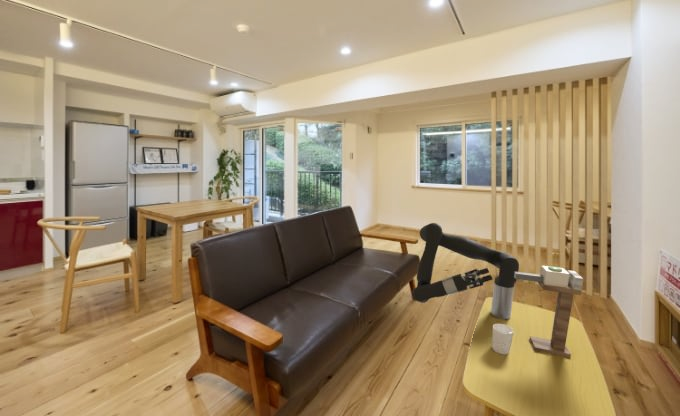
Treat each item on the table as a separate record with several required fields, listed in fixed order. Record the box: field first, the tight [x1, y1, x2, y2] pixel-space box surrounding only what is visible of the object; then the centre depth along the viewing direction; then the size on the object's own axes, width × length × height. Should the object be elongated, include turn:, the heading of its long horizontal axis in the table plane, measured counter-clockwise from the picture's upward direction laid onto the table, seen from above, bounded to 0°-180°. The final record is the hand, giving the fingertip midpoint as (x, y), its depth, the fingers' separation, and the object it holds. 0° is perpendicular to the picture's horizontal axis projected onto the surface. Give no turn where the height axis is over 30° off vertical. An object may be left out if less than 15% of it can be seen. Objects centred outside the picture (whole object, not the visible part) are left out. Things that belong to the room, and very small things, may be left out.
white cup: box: [491, 323, 515, 355], centre depth 130 cm, size 8×8×10 cm
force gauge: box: [514, 265, 569, 288], centre depth 129 cm, size 7×18×6 cm, turn 71°
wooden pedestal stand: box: [529, 269, 584, 358], centre depth 129 cm, size 9×13×35 cm
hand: (490, 273), depth 135 cm, fingers open, 8 cm apart
